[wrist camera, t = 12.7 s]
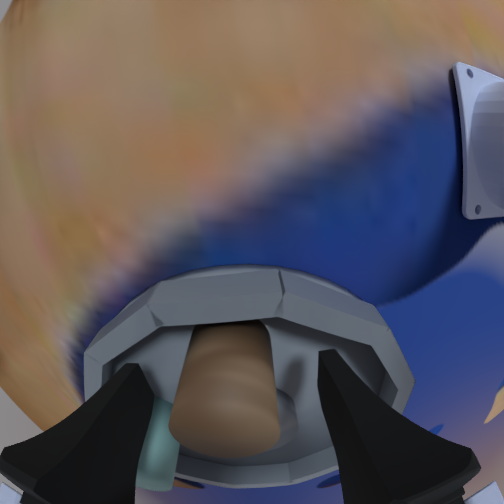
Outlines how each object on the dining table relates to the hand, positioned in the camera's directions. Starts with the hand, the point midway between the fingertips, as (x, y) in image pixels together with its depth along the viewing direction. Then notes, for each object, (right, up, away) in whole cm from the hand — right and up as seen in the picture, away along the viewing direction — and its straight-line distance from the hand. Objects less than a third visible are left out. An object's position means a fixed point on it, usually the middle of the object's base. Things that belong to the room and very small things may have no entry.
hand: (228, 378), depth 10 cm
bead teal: (-5, -5, +4) cm, 8 cm away
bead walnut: (0, +1, +2) cm, 2 cm away
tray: (+1, -4, +5) cm, 6 cm away
